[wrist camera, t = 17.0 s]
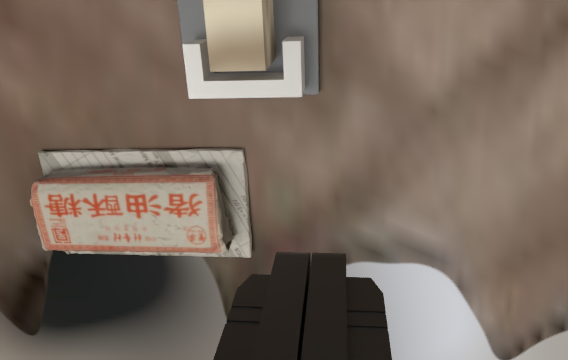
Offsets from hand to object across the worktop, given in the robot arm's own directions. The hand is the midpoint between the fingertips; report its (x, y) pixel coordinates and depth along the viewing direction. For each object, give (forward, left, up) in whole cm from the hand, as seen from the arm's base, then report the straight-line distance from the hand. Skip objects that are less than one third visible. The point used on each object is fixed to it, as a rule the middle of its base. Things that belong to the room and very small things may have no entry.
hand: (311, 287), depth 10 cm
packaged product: (+11, -16, -28) cm, 34 cm away
